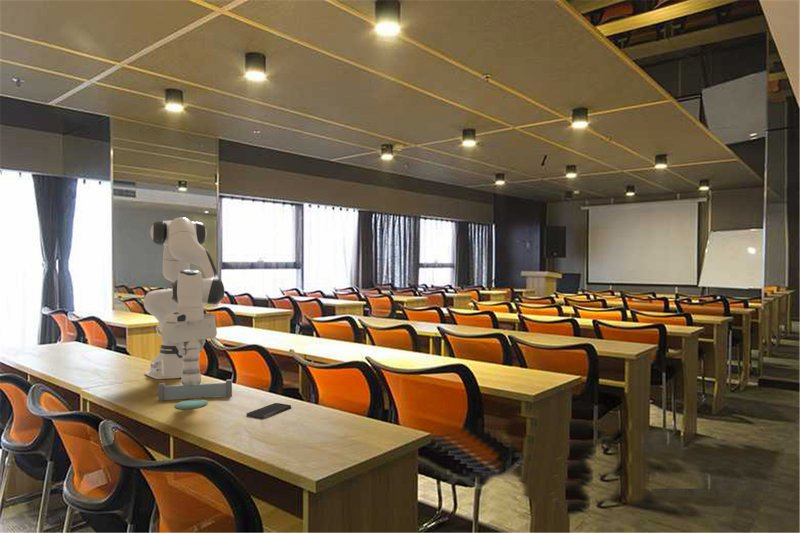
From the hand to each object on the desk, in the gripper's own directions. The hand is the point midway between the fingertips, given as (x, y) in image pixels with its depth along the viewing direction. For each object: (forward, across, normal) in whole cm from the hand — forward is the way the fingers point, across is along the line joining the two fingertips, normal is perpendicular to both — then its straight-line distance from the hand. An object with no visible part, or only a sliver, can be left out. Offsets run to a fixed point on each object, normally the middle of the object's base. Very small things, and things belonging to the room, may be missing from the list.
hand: (190, 353), depth 184 cm
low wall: (+18, -7, -7) cm, 21 cm away
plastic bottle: (+12, 0, 0) cm, 12 cm away
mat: (+19, 0, 0) cm, 19 cm away
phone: (+19, -9, +30) cm, 37 cm away
